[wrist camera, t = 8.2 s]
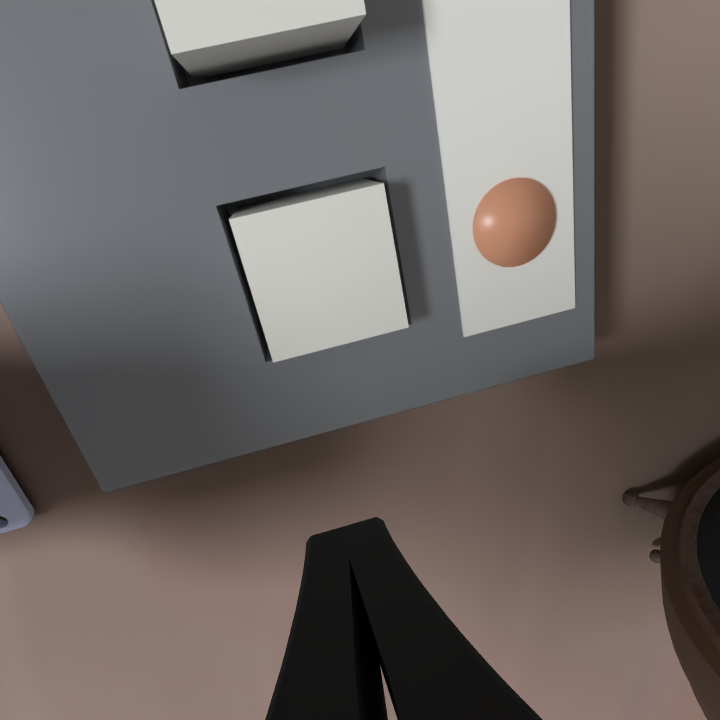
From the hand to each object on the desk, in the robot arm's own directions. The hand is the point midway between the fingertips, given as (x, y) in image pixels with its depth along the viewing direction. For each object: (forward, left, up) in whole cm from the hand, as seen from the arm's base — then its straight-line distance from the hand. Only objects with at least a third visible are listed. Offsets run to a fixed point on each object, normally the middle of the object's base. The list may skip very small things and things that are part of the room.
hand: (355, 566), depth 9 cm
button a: (+1, +4, -9) cm, 10 cm away
